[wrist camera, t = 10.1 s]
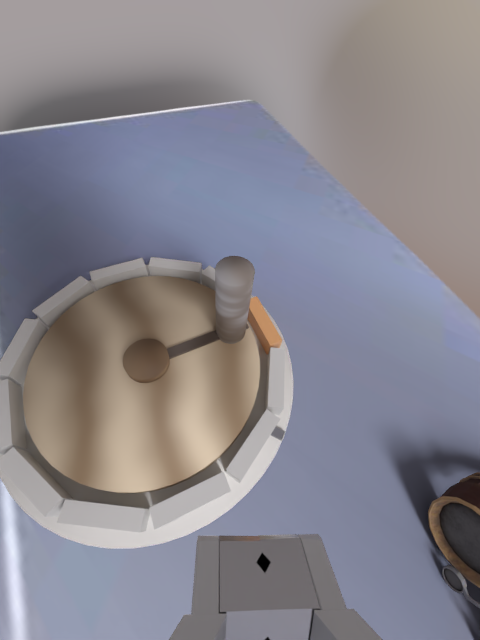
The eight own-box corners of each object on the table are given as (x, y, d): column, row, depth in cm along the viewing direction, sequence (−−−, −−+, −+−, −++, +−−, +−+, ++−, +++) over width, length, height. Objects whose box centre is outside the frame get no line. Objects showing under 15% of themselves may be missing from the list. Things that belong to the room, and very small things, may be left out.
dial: (50, 550, 22) (-65, 576, 13) (20, 322, 31) (-58, 246, 22) (298, 422, 28) (337, 379, 19) (208, 263, 37) (206, 186, 28)
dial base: (-75, 441, 26) (-114, 432, 23) (125, 243, 41) (118, 221, 37) (208, 629, 21) (206, 649, 18) (324, 327, 35) (334, 309, 32)
